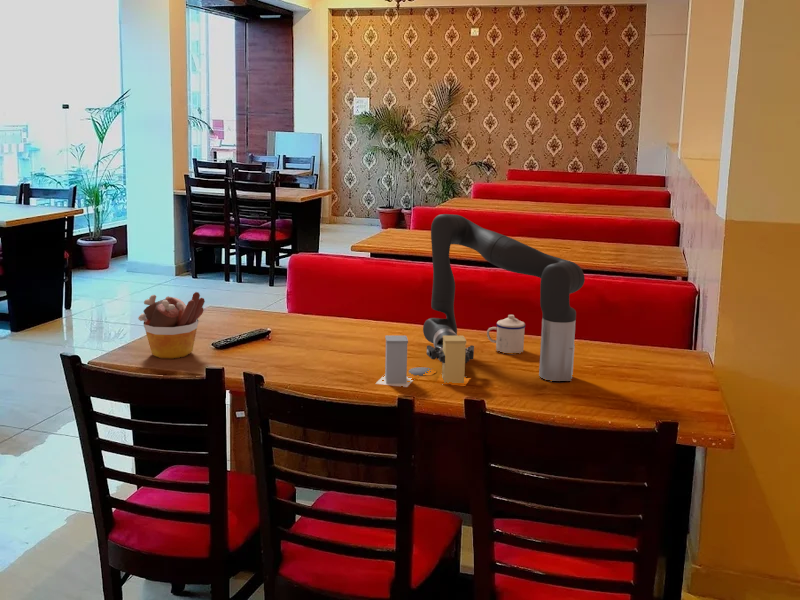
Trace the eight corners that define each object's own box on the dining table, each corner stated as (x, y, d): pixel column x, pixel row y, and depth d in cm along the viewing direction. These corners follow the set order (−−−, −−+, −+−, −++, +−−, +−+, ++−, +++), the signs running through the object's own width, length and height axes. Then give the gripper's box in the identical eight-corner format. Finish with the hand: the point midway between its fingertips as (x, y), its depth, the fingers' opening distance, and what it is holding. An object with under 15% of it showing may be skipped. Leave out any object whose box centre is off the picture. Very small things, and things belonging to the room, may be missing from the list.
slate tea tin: (405, 377, 232) (406, 335, 230) (407, 383, 226) (408, 340, 224) (384, 377, 232) (385, 335, 229) (385, 383, 226) (386, 340, 223)
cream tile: (415, 378, 232) (415, 377, 232) (407, 388, 224) (407, 387, 224) (384, 375, 235) (384, 374, 234) (375, 384, 226) (375, 383, 226)
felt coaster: (439, 370, 240) (439, 368, 240) (432, 378, 233) (432, 376, 233) (412, 367, 243) (412, 366, 242) (405, 375, 235) (405, 373, 235)
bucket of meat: (128, 357, 246) (125, 292, 242) (161, 344, 262) (158, 282, 257) (187, 365, 240) (185, 298, 236) (216, 350, 255) (215, 287, 251)
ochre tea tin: (461, 377, 233) (463, 335, 231) (464, 383, 228) (466, 341, 225) (441, 377, 233) (442, 335, 230) (443, 383, 227) (445, 340, 225)
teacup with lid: (525, 348, 266) (527, 313, 263) (522, 355, 257) (524, 319, 255) (488, 345, 269) (489, 310, 266) (484, 352, 260) (485, 316, 257)
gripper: (423, 331, 242) (429, 346, 225) (471, 331, 243) (481, 346, 226) (422, 355, 243) (428, 372, 227) (470, 355, 244) (480, 372, 228)
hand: (455, 359), depth 226 cm, fingers closed on ochre tea tin, 5 cm apart
